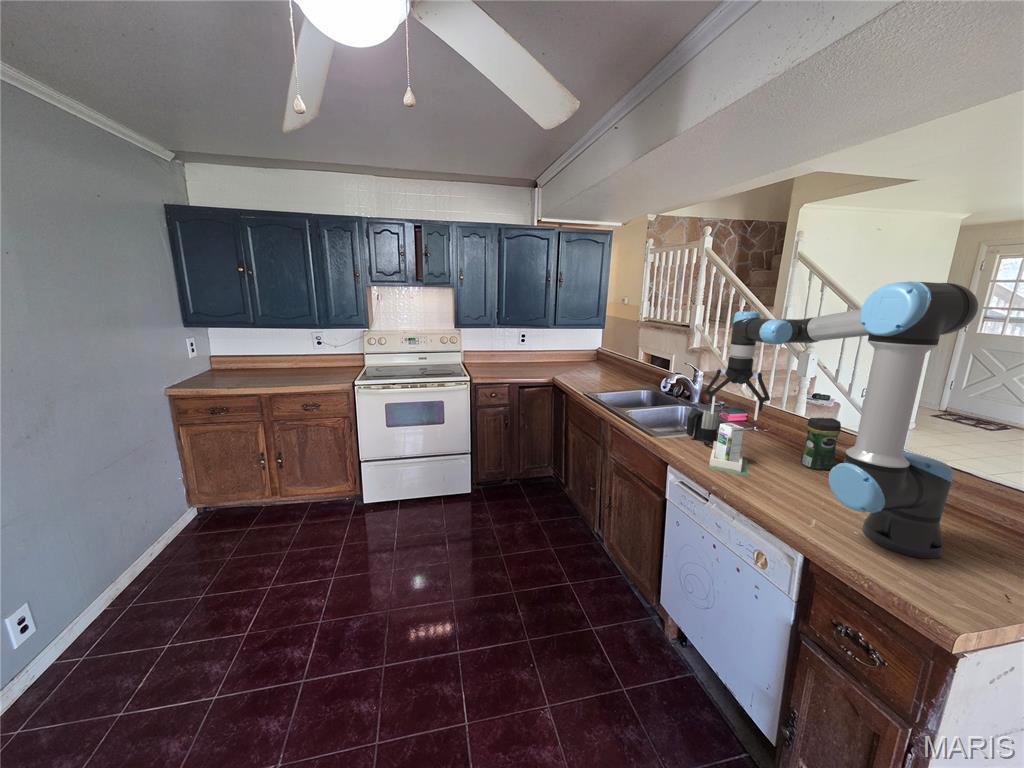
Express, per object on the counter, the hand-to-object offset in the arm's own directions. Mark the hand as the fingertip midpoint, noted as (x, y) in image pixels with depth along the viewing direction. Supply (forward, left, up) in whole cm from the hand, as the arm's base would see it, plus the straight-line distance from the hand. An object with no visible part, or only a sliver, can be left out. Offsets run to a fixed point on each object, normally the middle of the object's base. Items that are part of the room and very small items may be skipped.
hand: (733, 416), depth 145 cm
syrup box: (0, 0, -18) cm, 18 cm away
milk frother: (+22, +8, -19) cm, 30 cm away
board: (+1, -1, -19) cm, 19 cm away
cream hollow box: (0, 0, -19) cm, 19 cm away
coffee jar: (+18, -29, -19) cm, 39 cm away
